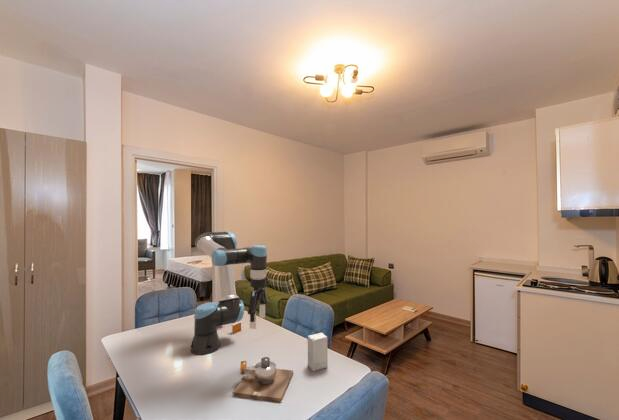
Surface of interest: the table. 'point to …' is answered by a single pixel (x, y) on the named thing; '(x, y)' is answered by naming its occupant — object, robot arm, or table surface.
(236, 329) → the whisky bottle
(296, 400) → the table surface
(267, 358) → the silver round pot
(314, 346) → the skincare box
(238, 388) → the brown wooden board
